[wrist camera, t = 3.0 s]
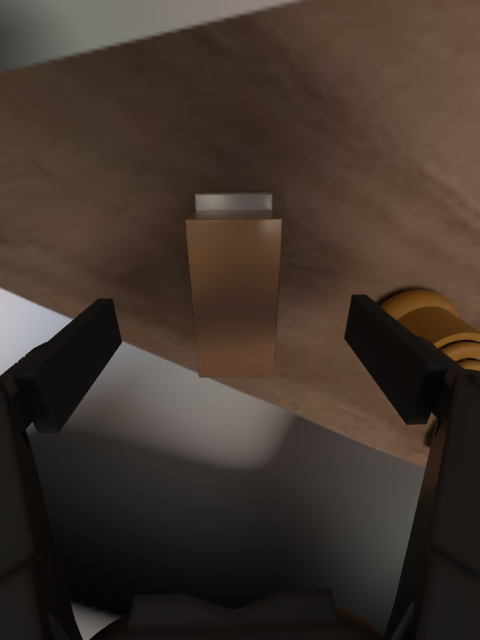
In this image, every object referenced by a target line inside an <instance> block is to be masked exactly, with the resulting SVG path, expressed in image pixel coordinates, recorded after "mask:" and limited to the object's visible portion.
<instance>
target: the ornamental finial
mask: <svg viewBox="0 0 480 640" xmlns="http://www.w3.org/2000/svg"><path fill="white" fill-rule="evenodd" d="M380 307H381V308H383V309H384V310H385V311H386V312H387V313H389V314H390V315H391V316H392V317H393V318H395V319H396V320H397V321H398V322H399V323H401V324H402V325H403V326H404V327H405V328H407V329H408V330H409V331H410V332H411V333H413V334H414V335H419V336H421V337H423V338H425V339H427V340H429V341H430V342H431V343H433V344H434V345H435V346H436V347H437V348H439V349H440V350H441V351H443V352H444V354H446V355H448V356H449V357H450V358H451V359H453V360H454V361H455V362H456V363H458V364H459V365H460V366H462V367H463V368H464V369H473V370H478V371H480V332H479V331H477V330H476V329H474V328H473V327H472V326H470V325H469V324H467V323H466V322H464V321H463V320H461V319H460V316H459V313H458V311H457V309H456V307H455V306H454V304H453V303H452V302H451V301H450V300H449V299H447V298H446V297H444V296H443V295H441V294H438V293H436V292H432V291H427V290H412V291H407V292H403V293H400V294H397V295H395V296H393V297H391V298H390V299H388V300H386V301H385V302H384V303H382V304H381V305H380Z"/></svg>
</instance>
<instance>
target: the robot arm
mask: <svg viewBox="0 0 480 640" xmlns="http://www.w3.org/2000/svg"><path fill="white" fill-rule="evenodd" d="M344 339H345V340H346V341H347V343H348V344H349V346H350V347H351V348H352V350H353V351H354V352H355V354H356V355H357V357H358V358H359V359H360V361H361V362H362V364H363V365H364V366H365V368H366V369H367V371H368V372H369V373H370V375H371V376H372V377H373V379H374V380H375V382H376V383H377V384H378V386H379V387H380V389H381V390H382V391H383V393H384V394H385V395H386V397H387V398H388V400H389V401H390V402H391V404H392V405H393V407H394V408H395V409H396V411H397V412H398V413H399V415H400V416H401V418H402V419H403V420H404V422H405V423H406V425H415V424H427V421H428V419H429V416H430V414H431V412H432V413H433V414H434V415H435V416H436V418H437V419H438V422H437V424H436V427H435V429H434V431H433V434H432V436H431V439H430V441H429V442H431V448H430V452H429V456H428V461H427V465H426V469H425V474H424V479H423V482H422V486H421V491H420V496H419V499H418V504H417V508H416V512H415V517H414V521H413V526H412V530H411V534H410V538H409V542H408V547H407V551H406V555H405V560H404V564H403V568H402V573H401V577H400V581H399V586H398V590H397V595H396V598H395V602H394V606H393V610H392V613H391V616H390V619H389V622H388V625H387V628H386V631H385V635H384V636H383V635H382V634H381V633H380V632H379V631H377V630H376V629H375V628H374V627H372V626H371V625H370V624H368V623H367V622H366V621H364V620H363V619H361V618H360V617H358V616H356V615H355V614H353V613H350V612H349V611H346V610H344V609H342V608H339V607H336V606H335V604H334V599H333V595H332V591H331V589H319V590H289V591H282V592H279V593H276V594H274V595H272V596H269V597H267V598H264V599H262V600H259V601H257V602H254V603H252V604H249V605H247V606H244V607H242V608H239V609H235V610H230V609H227V608H224V607H221V606H218V605H215V604H211V603H209V602H206V601H203V600H200V599H197V598H194V597H191V596H187V595H185V594H171V595H138V596H135V597H134V601H133V606H132V610H131V613H130V614H128V615H125V616H123V617H121V618H119V619H118V620H116V621H114V622H112V623H110V624H109V625H108V626H106V627H105V628H103V629H102V630H100V631H99V632H98V633H96V634H95V635H94V636H93V637H92V638H91V639H90V640H480V371H478V370H473V369H464V368H463V367H462V366H460V365H459V364H458V363H456V362H455V361H454V360H453V359H451V358H450V357H449V356H448V355H446V354H444V352H443V351H441V350H440V349H439V348H437V347H436V346H435V345H434V344H433V343H431V342H430V341H429V340H427V339H425V338H423V337H421V336H419V335H414V334H413V333H411V332H410V331H409V330H408V329H407V328H405V327H404V326H403V325H402V324H401V323H399V322H398V321H397V320H396V319H395V318H393V317H392V316H391V315H390V314H389V313H387V312H386V311H385V310H384V309H383V308H381V307H380V306H379V305H378V304H377V303H375V302H374V301H373V300H372V299H371V298H369V297H368V296H367V295H352V298H351V303H350V309H349V315H348V320H347V326H346V331H345V337H344ZM121 343H122V340H121V335H120V331H119V326H118V322H117V317H116V313H115V308H114V304H113V299H97V300H96V301H95V302H94V303H93V304H91V305H90V306H89V307H88V308H87V309H85V310H84V311H83V312H82V313H81V314H80V315H78V316H77V317H76V318H75V319H74V320H73V321H71V322H70V323H69V324H68V325H67V326H65V327H64V328H63V329H62V330H61V331H60V332H59V333H57V334H56V335H55V336H54V337H53V338H51V339H50V340H49V341H48V342H45V343H43V344H41V345H39V346H37V347H35V348H33V349H32V350H31V351H30V352H29V353H27V354H26V355H25V357H23V358H21V359H20V360H19V361H18V363H15V364H14V365H13V366H12V367H10V368H9V369H8V370H7V371H6V372H4V373H3V374H2V375H1V376H0V640H83V639H82V636H81V634H80V631H79V629H78V626H77V624H76V621H75V618H74V614H73V611H72V607H71V603H70V599H69V595H68V591H67V587H66V583H65V579H64V575H63V572H62V567H61V563H60V559H59V556H58V551H57V547H56V543H55V540H54V536H53V531H52V527H51V524H50V520H49V516H48V512H47V508H46V504H45V500H44V496H43V492H42V488H41V484H40V480H39V476H38V472H37V468H36V464H35V460H34V456H33V453H32V448H31V444H30V440H29V437H28V434H27V433H26V429H27V427H28V426H29V425H30V424H31V423H32V422H33V423H34V426H35V428H36V430H37V432H38V433H59V432H60V430H61V429H62V427H63V426H64V425H65V423H66V422H67V420H68V419H69V417H70V416H71V415H72V413H73V411H74V410H75V409H76V407H77V406H78V405H79V403H80V402H81V400H82V399H83V397H84V396H85V395H86V393H87V392H88V390H89V389H90V387H91V386H92V384H93V383H94V382H95V380H96V379H97V377H98V376H99V374H100V373H101V372H102V370H103V369H104V367H105V366H106V364H107V363H108V362H109V360H110V359H111V357H112V356H113V355H114V353H115V352H116V350H117V349H118V347H119V346H120V345H121Z"/></svg>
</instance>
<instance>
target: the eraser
mask: <svg viewBox="0 0 480 640" xmlns="http://www.w3.org/2000/svg"><path fill="white" fill-rule="evenodd" d="M272 200H273V194H272V193H269V192H216V193H197V194H195V208H196V212H194V213H193V214H192V215H190V216H189V217H188V218H187V219H185V228H186V239H187V250H188V261H189V272H190V283H191V294H192V305H193V316H194V327H195V338H196V349H197V360H198V371H199V377H254V376H274V363H275V345H276V328H277V310H278V293H279V275H280V258H281V240H282V223H283V219H282V218H281V217H280V216H278V215H277V214H276V213H274V212H273V211H272Z"/></svg>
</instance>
